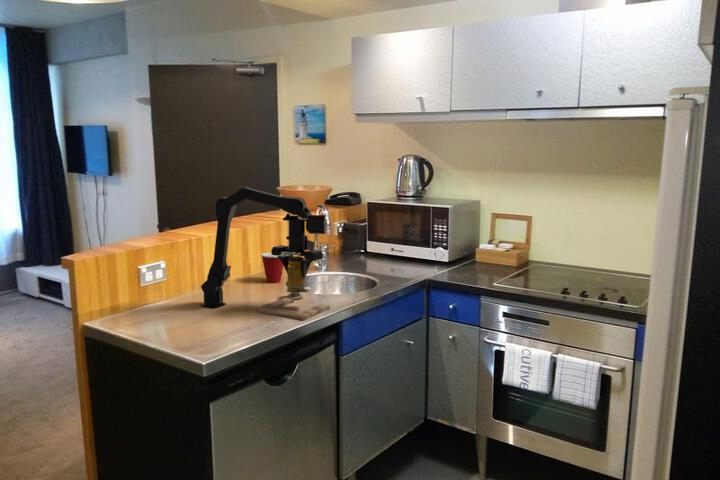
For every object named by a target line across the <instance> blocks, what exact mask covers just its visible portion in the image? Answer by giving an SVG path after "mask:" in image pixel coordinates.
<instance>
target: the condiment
mask: <svg viewBox="0 0 720 480" xmlns="http://www.w3.org/2000/svg"><path fill="white" fill-rule="evenodd" d="M303 259H304V256H297V255H293V257H289V265H288V274H287V285H288V287H287V286H286V293H288V294H290V293H300V294H301V293H311V292H312V290H311V287H309V286H308V287H306V285H305V284H306V281H305V280H306V277H305V278H303V277H302V271H301V262H300V260H303Z"/></svg>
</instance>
